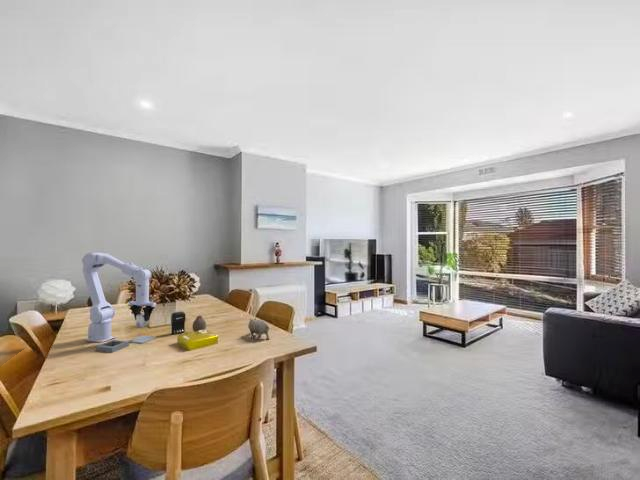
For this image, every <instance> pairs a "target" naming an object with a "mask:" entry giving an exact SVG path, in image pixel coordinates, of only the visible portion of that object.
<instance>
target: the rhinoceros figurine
mask: <svg viewBox="0 0 640 480" xmlns="http://www.w3.org/2000/svg"><path fill="white" fill-rule="evenodd" d="M248 320H249V322H248V325H247V327H248V329H249V332H250V337H251V338H250V339H253V338H255V335H256V334H257V336H256V338H255V340H256V339H259V340H260V339H261V337H262V335H264V334H265V335H266V339H267V340H268V339H270V336H269V330H270V327H269V324H268V322H267V321H265V320H261V319H257V318H256V317H254V319H253V318H252V319H251V318H248ZM254 334H255V335H254ZM252 337H253V338H252ZM266 339H265V340H266Z"/></svg>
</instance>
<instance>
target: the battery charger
mask: <svg viewBox="0 0 640 480" xmlns="http://www.w3.org/2000/svg"><path fill="white" fill-rule="evenodd" d="M186 319H187V317H186V313H185V312H184V311H183V310H182V311H173V312H172V313H171V315H170V329H171V330H170V334H171V335H180V334H185V332H186V329H185V325H186V323H185V322H187V321H186Z"/></svg>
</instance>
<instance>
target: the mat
mask: <svg viewBox="0 0 640 480" xmlns="http://www.w3.org/2000/svg"><path fill="white" fill-rule="evenodd" d="M157 338H158V337H157V336H151V335H150V336H149V335H140V336H138V337H134V338H132V339H130V340H128V341H129V344H130V343H131V344H141V345H142V344H145V343H148V342H150V341H152V340H156V339H157Z"/></svg>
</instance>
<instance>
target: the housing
mask: <svg viewBox="0 0 640 480" xmlns="http://www.w3.org/2000/svg"><path fill="white" fill-rule="evenodd" d="M129 346H130V342H129V340H127V341H125V340H115V339H113V340H112V339H111V341H107V342H104V343H102V344H98V345H96V346H95V351H96V352H104V353H114V352H117V351H119V350H122V349H124V348H127V347H129Z"/></svg>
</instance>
